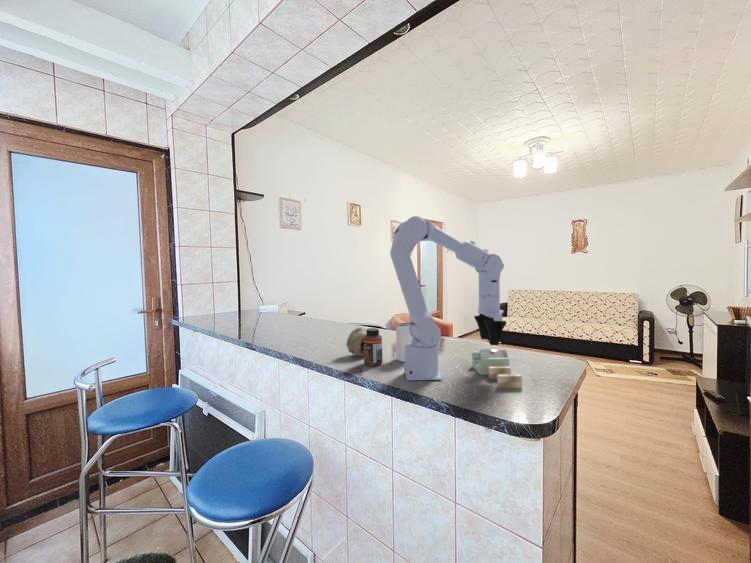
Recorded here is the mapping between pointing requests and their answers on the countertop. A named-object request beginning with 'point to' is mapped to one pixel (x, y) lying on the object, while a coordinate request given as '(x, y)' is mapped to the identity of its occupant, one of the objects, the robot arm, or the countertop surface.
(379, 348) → the supplement bottle
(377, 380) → the countertop surface
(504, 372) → the beige blocks
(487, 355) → the axle
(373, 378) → the countertop surface
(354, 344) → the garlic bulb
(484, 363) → the v block
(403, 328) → the can
